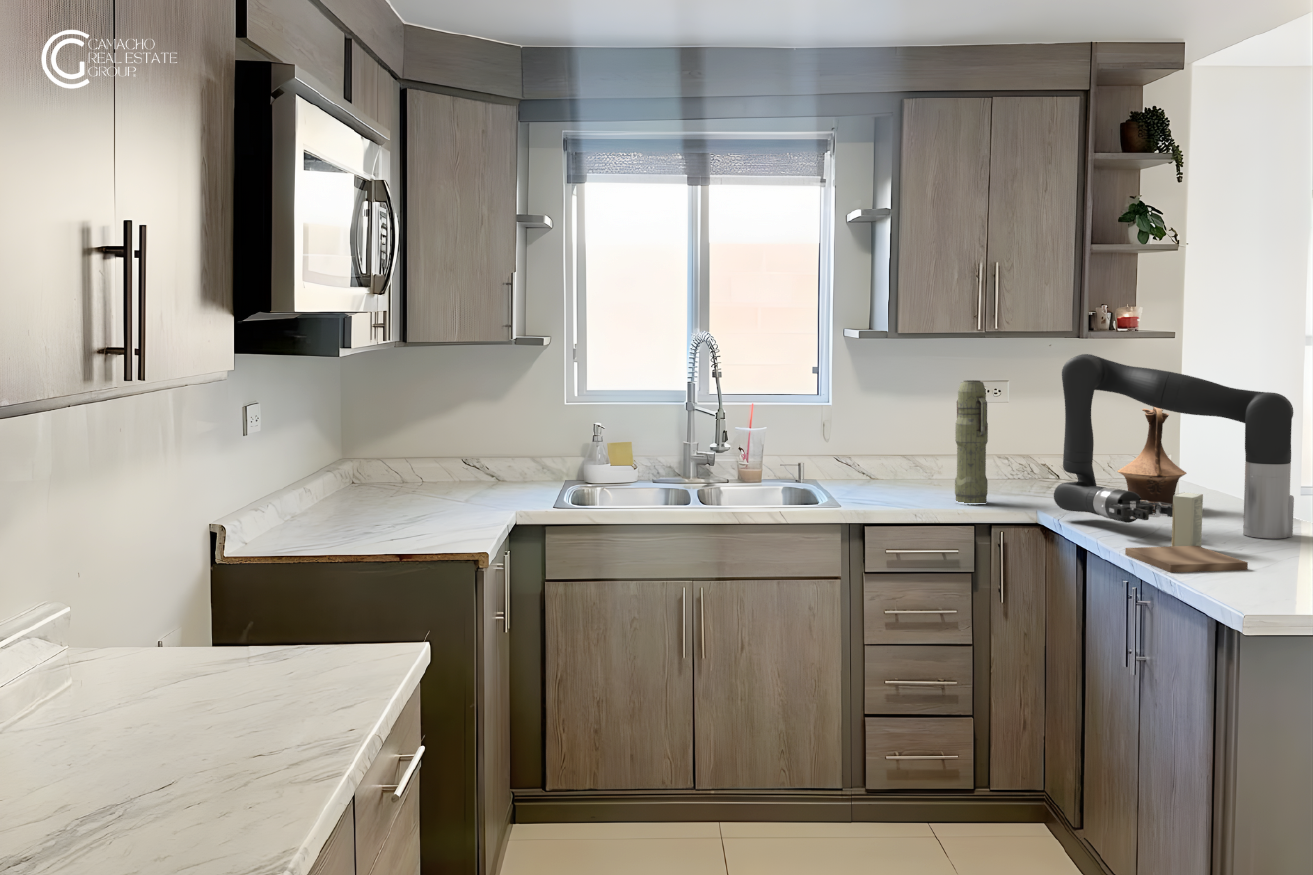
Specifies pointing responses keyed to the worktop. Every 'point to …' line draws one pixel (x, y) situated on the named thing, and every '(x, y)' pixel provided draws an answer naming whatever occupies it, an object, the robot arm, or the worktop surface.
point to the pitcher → (1153, 465)
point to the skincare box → (1187, 519)
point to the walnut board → (1186, 559)
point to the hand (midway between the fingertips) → (1163, 514)
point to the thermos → (971, 443)
